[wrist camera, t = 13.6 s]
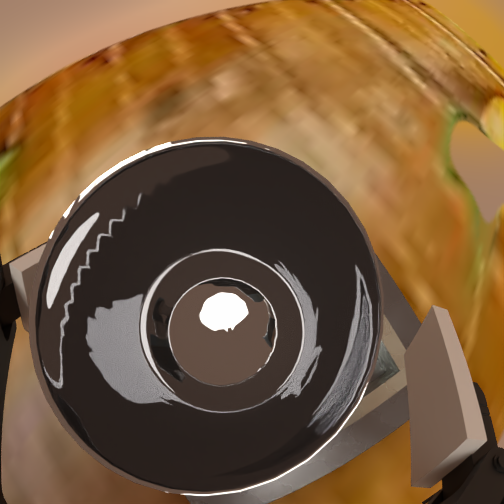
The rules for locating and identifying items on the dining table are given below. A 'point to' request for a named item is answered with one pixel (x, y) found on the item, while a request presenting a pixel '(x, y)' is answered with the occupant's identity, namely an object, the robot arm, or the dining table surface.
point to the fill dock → (364, 416)
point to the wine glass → (206, 316)
